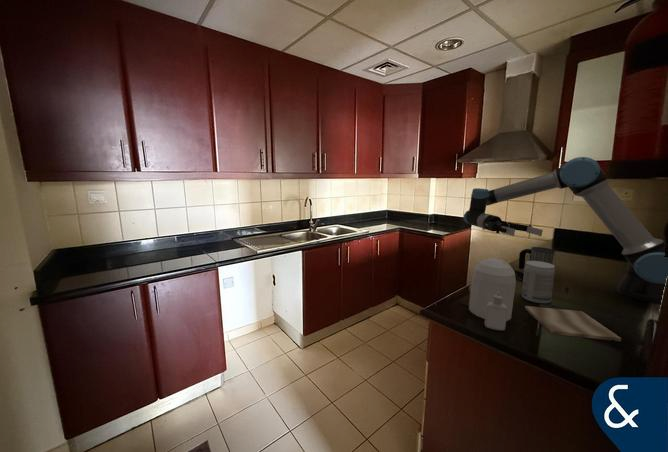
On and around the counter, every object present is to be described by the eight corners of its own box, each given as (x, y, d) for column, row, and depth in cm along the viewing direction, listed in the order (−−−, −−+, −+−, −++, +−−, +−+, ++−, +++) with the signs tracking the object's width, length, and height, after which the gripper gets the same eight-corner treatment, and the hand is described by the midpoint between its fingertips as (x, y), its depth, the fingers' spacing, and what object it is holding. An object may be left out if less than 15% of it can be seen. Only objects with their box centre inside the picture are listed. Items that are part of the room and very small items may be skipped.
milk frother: (551, 278, 130) (555, 249, 128) (549, 287, 119) (554, 255, 116) (516, 271, 139) (520, 244, 137) (511, 280, 128) (515, 250, 125)
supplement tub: (554, 300, 106) (560, 265, 103) (544, 306, 100) (550, 269, 98) (526, 292, 114) (531, 259, 111) (516, 297, 108) (520, 262, 106)
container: (516, 324, 88) (524, 266, 84) (470, 317, 92) (476, 261, 89) (505, 307, 100) (512, 255, 97) (466, 301, 105) (471, 251, 101)
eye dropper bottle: (501, 333, 82) (506, 297, 80) (482, 326, 87) (486, 291, 85) (506, 328, 85) (511, 293, 83) (487, 321, 89) (491, 287, 87)
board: (581, 313, 95) (581, 311, 95) (620, 341, 79) (621, 338, 79) (524, 308, 99) (525, 305, 99) (551, 333, 83) (551, 330, 82)
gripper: (509, 230, 134) (550, 241, 114) (465, 229, 129) (500, 241, 109) (512, 215, 132) (554, 224, 112) (468, 214, 127) (503, 223, 107)
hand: (527, 232), depth 110 cm, fingers open, 13 cm apart
